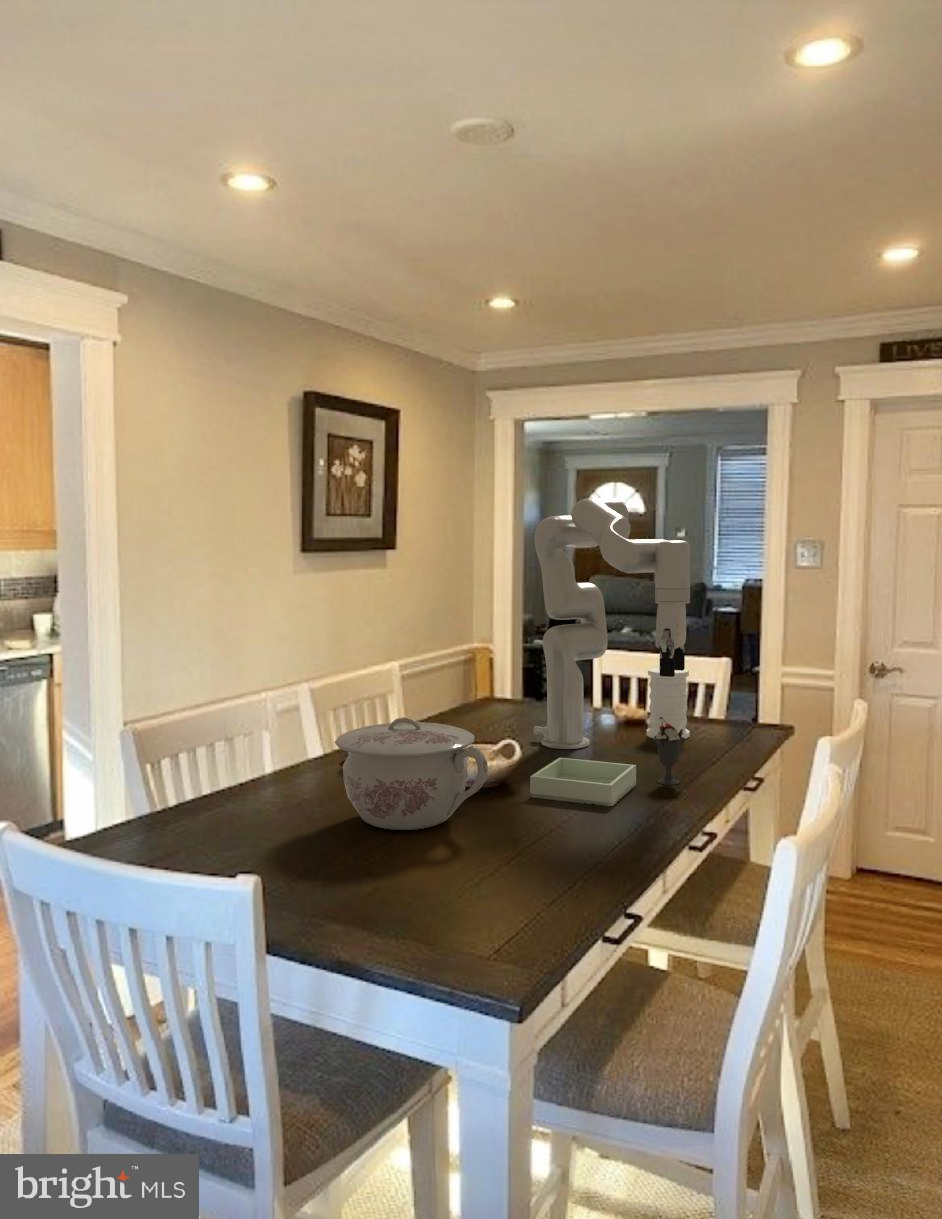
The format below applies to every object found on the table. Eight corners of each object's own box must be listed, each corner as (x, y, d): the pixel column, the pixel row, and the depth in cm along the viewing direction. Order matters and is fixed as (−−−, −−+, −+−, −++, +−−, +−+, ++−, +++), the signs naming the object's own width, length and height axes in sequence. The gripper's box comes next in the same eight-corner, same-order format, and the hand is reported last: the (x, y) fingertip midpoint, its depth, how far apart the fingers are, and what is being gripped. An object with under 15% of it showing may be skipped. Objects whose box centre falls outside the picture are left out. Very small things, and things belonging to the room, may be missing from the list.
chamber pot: (321, 811, 197) (318, 711, 196) (445, 794, 208) (444, 700, 206) (360, 853, 172) (358, 739, 170) (500, 832, 183) (499, 724, 181)
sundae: (647, 783, 216) (647, 716, 214) (663, 776, 220) (664, 712, 219) (673, 788, 211) (673, 720, 210) (689, 781, 216) (689, 716, 215)
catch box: (530, 797, 205) (530, 776, 205) (559, 776, 222) (559, 757, 221) (611, 806, 198) (611, 785, 197) (636, 785, 214) (636, 765, 213)
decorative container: (657, 741, 256) (657, 674, 255) (639, 732, 267) (639, 668, 266) (697, 738, 259) (697, 672, 257) (678, 729, 270) (678, 666, 268)
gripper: (664, 593, 222) (664, 667, 223) (645, 599, 206) (645, 678, 208) (697, 594, 219) (697, 668, 220) (680, 599, 203) (680, 679, 205)
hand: (672, 673), depth 214 cm, fingers open, 9 cm apart
